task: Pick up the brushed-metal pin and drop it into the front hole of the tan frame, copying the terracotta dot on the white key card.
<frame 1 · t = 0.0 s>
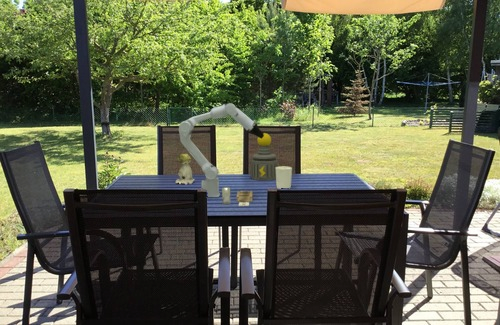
hand: (262, 136, 222), 32 cm above the table, tool tilted 50°, fingers open, 7 cm apart
cream figurine: (184, 182, 265), on the table
tan frame: (244, 198, 220), on the table
key card: (244, 204, 208), on the table
decorative lamp: (264, 178, 276), on the table
candle holder: (283, 188, 246), on the table
pin: (226, 203, 210), on the table
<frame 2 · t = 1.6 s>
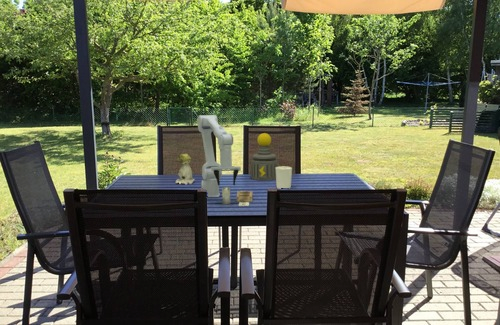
hand: (226, 185, 209), 10 cm above the table, tool pointing down, fingers open, 7 cm apart
nothing on the table moved.
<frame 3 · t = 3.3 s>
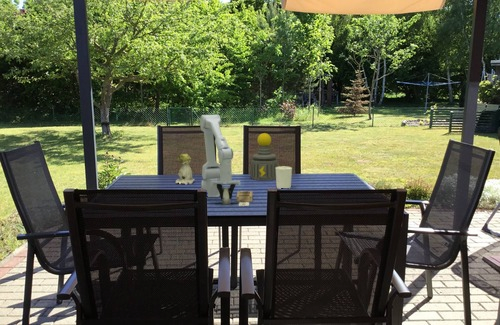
hand: (226, 198, 210), 2 cm above the table, tool pointing down, fingers closed on pin, 4 cm apart
pin: (226, 203, 210), on the table, touching gripper
everything else where it was.
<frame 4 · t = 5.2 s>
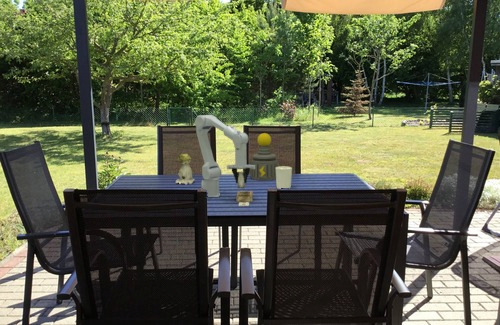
hand: (241, 182, 214), 9 cm above the table, tool pointing down, fingers closed on pin, 4 cm apart
pin: (241, 187, 214), point 7 cm above the table, touching gripper
everything else where it was.
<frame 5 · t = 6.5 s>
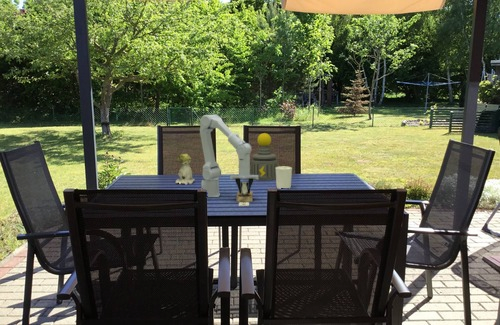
hand: (244, 192, 216), 4 cm above the table, tool pointing down, fingers closed on pin, 4 cm apart
pin: (244, 197, 216), point 1 cm above the table, touching gripper
everything else where it was.
when the fingers open (4 cm above the table, at t = 7.2 s): pin drops 1 cm, resting in tan frame.
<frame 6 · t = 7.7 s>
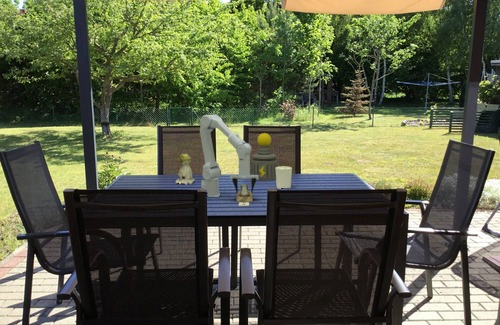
hand: (244, 192, 216), 4 cm above the table, tool pointing down, fingers open, 7 cm apart
pin: (244, 200, 217), resting in tan frame
everything else where it was.
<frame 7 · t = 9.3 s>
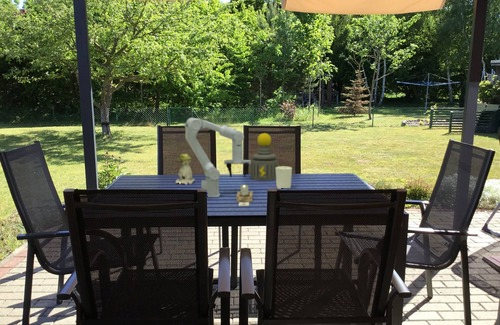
hand: (237, 176, 231), 9 cm above the table, tool pointing down, fingers open, 7 cm apart
nothing on the table moved.
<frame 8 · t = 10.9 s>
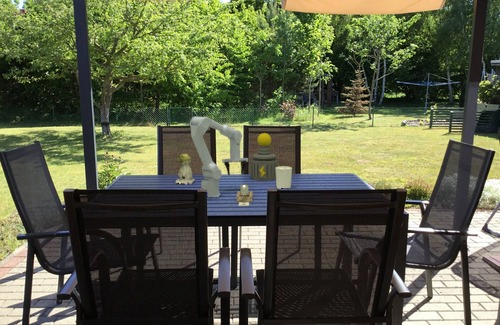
hand: (235, 174, 238), 9 cm above the table, tool pointing down, fingers open, 7 cm apart
nothing on the table moved.
at the end: pin 0.1 cm from the target spot on the tan frame, point 0.0 cm above the tan frame's base; pin tilted 0°; the gripper is holding nothing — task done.
